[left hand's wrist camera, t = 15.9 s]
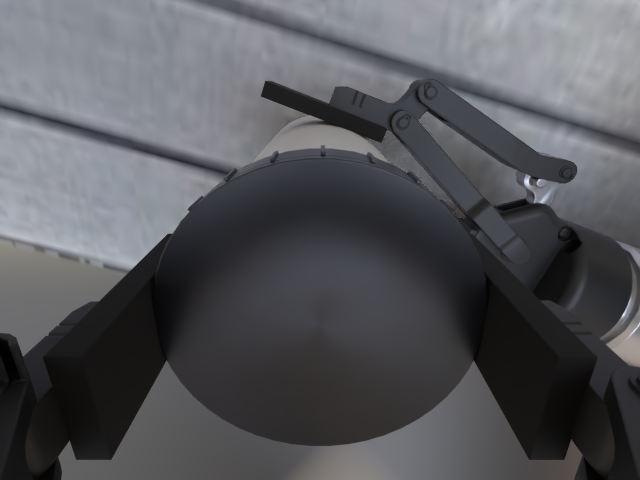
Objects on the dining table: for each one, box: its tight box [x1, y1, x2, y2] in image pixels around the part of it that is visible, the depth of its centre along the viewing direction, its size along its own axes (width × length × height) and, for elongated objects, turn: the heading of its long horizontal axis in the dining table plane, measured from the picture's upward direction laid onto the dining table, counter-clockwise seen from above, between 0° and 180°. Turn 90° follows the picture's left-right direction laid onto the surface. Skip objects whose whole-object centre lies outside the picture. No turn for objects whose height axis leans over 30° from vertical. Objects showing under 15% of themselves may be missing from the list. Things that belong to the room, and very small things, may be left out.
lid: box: [153, 145, 488, 446], centre depth 11 cm, size 9×9×2 cm
